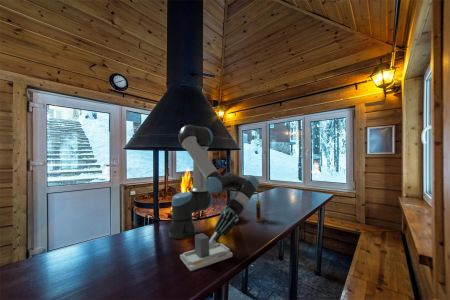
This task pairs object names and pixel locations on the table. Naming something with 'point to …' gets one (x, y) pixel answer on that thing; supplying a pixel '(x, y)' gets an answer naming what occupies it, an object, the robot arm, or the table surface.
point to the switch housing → (215, 255)
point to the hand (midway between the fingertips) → (209, 246)
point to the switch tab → (201, 245)
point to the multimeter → (258, 211)
